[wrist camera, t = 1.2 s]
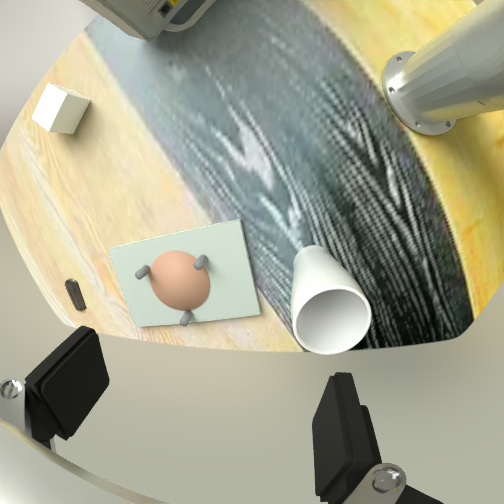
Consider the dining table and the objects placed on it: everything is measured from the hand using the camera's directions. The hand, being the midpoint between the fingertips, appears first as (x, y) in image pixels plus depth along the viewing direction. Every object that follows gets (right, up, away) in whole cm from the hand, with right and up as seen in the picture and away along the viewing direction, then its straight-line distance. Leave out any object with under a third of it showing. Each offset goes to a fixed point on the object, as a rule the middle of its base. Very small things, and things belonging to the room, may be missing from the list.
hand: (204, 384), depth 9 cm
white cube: (-27, +28, +23) cm, 45 cm away
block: (-29, -2, +32) cm, 44 cm away
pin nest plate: (-8, +1, +28) cm, 29 cm away
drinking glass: (+10, +4, +26) cm, 28 cm away
